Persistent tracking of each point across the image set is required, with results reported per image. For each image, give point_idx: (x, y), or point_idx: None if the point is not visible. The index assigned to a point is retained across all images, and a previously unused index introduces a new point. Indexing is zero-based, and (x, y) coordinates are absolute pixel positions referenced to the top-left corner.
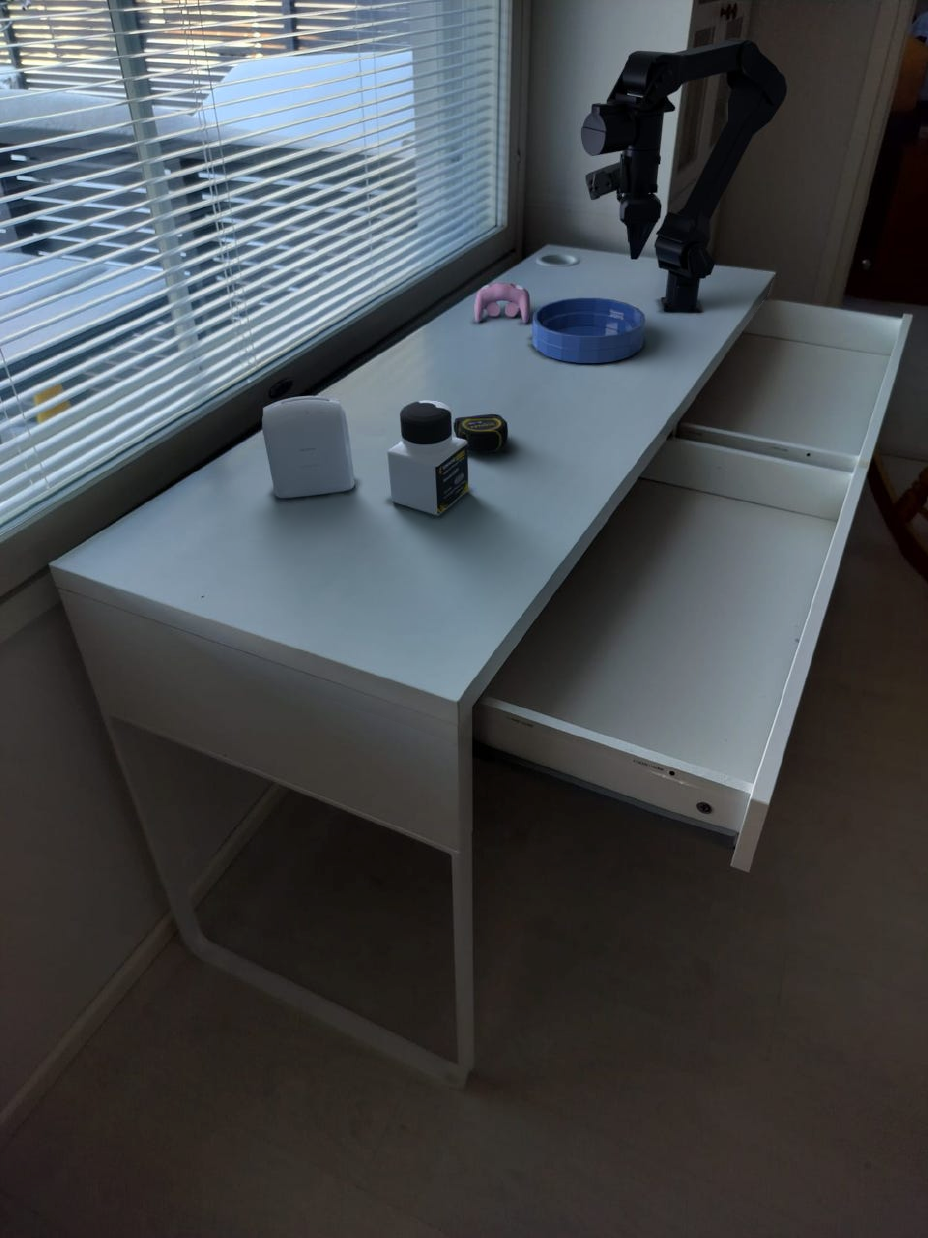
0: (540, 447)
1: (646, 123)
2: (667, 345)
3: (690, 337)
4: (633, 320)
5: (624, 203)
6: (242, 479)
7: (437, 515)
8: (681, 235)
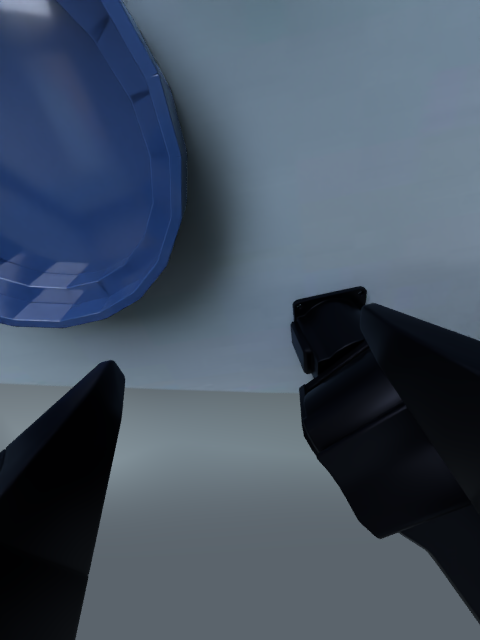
0: None
1: None
2: (123, 331)
3: (178, 355)
4: (139, 278)
5: None
6: None
7: None
8: (348, 464)
